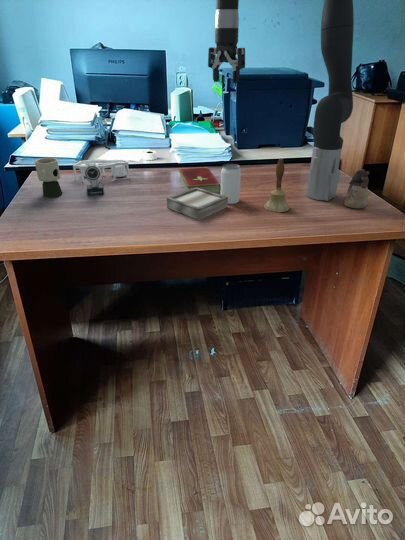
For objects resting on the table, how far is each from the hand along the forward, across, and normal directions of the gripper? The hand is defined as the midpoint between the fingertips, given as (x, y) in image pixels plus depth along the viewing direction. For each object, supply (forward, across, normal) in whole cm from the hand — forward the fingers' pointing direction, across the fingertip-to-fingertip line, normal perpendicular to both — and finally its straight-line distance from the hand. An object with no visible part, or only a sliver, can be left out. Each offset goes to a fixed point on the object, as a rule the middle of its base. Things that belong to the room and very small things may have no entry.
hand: (225, 82), depth 136 cm
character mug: (+34, +32, +54) cm, 71 cm away
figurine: (+36, -47, -13) cm, 60 cm away
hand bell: (+36, -29, +8) cm, 47 cm away
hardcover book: (+35, +5, +9) cm, 37 cm away
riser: (+35, -11, +26) cm, 45 cm away
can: (+35, -15, +14) cm, 41 cm away
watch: (+34, +23, +42) cm, 59 cm away
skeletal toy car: (+34, +35, +31) cm, 58 cm away
